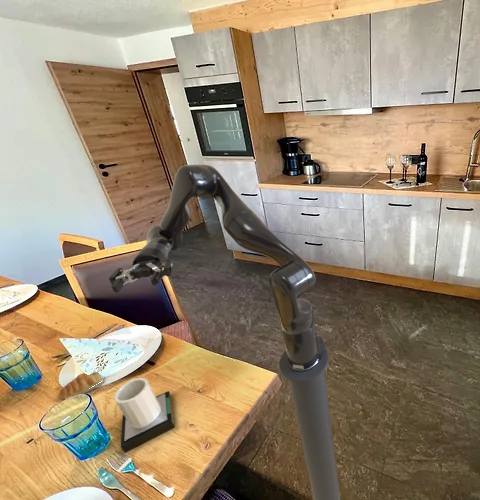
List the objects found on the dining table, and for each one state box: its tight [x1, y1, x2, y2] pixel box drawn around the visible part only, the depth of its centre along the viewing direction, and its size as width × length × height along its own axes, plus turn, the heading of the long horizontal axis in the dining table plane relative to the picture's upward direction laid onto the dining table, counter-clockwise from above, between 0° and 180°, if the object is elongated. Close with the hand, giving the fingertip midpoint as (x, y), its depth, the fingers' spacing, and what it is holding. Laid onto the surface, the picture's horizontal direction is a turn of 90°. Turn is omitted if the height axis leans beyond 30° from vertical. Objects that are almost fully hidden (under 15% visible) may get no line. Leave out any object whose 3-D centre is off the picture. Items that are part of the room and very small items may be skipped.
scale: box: [120, 390, 176, 454], centre depth 70 cm, size 10×10×3 cm
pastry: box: [58, 372, 105, 400], centre depth 80 cm, size 9×7×4 cm
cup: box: [113, 377, 161, 428], centre depth 67 cm, size 6×6×9 cm
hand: (134, 286), depth 74 cm, fingers open, 8 cm apart
